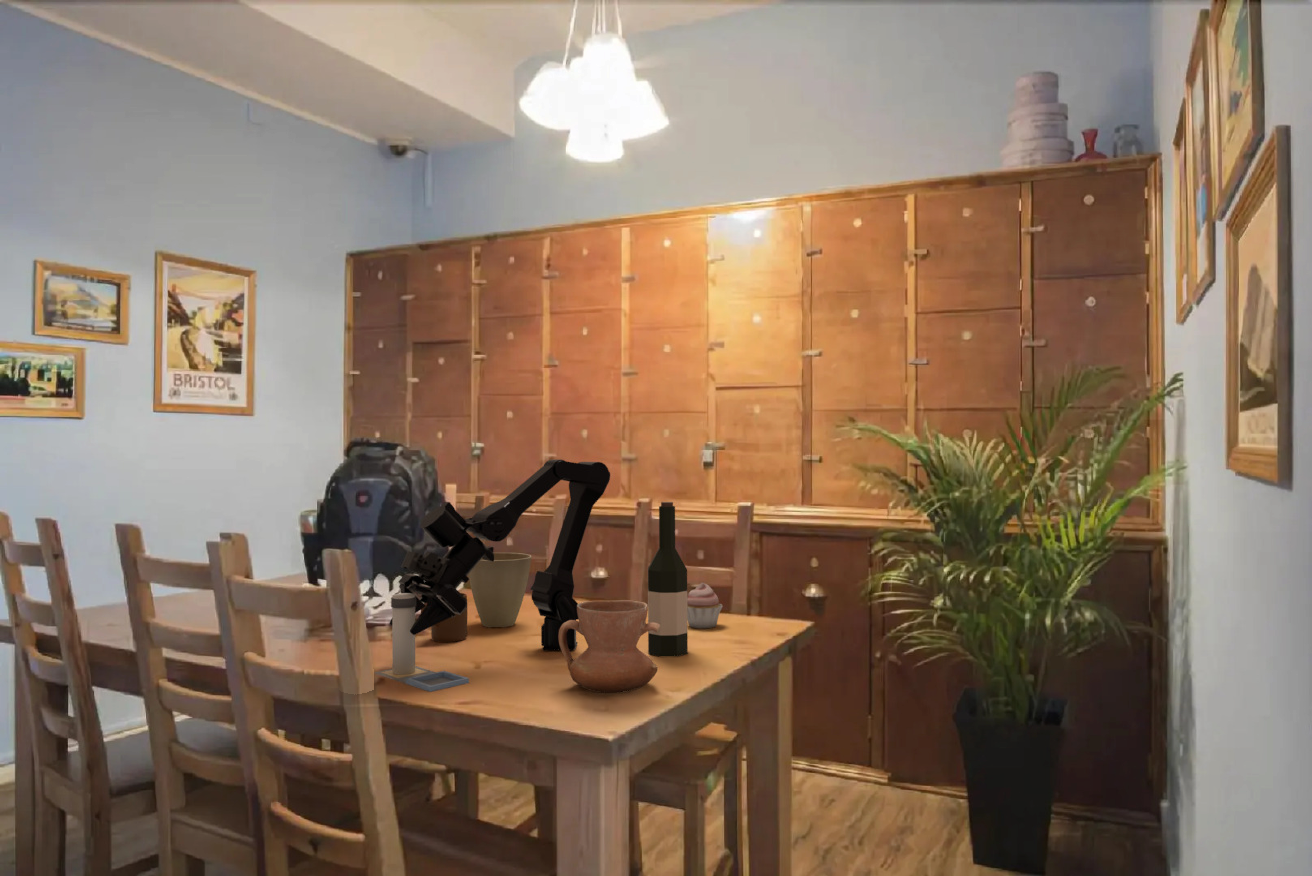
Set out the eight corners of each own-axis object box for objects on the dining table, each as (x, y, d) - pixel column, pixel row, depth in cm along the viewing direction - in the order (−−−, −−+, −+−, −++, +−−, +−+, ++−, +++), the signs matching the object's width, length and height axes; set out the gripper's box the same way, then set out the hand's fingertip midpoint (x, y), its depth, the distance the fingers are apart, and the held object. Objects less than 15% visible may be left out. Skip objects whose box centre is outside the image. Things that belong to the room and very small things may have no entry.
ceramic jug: (670, 679, 159) (669, 599, 160) (650, 702, 145) (649, 614, 145) (573, 673, 164) (573, 595, 164) (545, 695, 150) (544, 609, 150)
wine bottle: (640, 655, 178) (640, 503, 178) (655, 646, 186) (654, 500, 186) (680, 658, 175) (680, 503, 175) (694, 649, 183) (693, 501, 183)
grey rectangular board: (372, 674, 164) (372, 668, 164) (411, 666, 170) (411, 660, 170) (430, 693, 151) (430, 687, 151) (470, 684, 157) (470, 678, 157)
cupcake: (678, 629, 203) (678, 584, 203) (686, 621, 212) (686, 578, 212) (719, 631, 201) (719, 586, 201) (726, 623, 210) (725, 580, 210)
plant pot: (481, 634, 199) (481, 561, 199) (456, 623, 211) (456, 555, 211) (542, 626, 207) (542, 556, 207) (515, 616, 219) (515, 550, 219)
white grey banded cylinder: (419, 669, 166) (419, 593, 166) (412, 675, 162) (412, 597, 162) (395, 669, 166) (395, 593, 166) (388, 675, 162) (388, 597, 162)
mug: (435, 648, 185) (435, 602, 185) (408, 644, 189) (408, 599, 189) (474, 637, 195) (474, 593, 195) (448, 634, 199) (448, 591, 199)
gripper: (409, 531, 175) (352, 594, 168) (451, 539, 160) (391, 608, 153) (446, 569, 179) (392, 631, 172) (491, 579, 165) (434, 648, 158)
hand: (401, 629), depth 164 cm, fingers open, 9 cm apart
